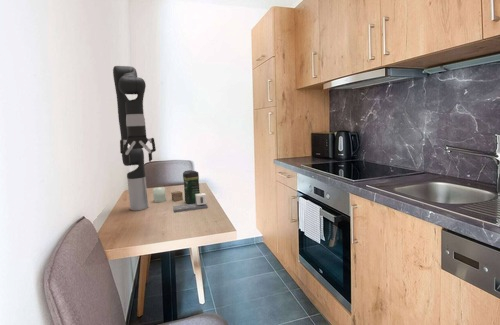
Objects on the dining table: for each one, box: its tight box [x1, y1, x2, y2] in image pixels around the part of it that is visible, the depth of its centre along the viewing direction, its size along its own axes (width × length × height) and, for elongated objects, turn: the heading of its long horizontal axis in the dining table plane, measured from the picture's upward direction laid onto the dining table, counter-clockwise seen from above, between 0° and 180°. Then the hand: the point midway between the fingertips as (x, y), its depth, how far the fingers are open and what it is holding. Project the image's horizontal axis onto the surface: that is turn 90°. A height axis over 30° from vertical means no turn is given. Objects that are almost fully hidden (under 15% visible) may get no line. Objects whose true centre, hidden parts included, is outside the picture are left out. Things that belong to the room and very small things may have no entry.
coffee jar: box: [182, 169, 200, 204], centre depth 164 cm, size 10×8×19 cm
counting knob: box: [195, 192, 208, 205], centre depth 152 cm, size 6×5×5 cm
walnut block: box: [171, 190, 184, 203], centre depth 171 cm, size 5×5×5 cm
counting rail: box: [172, 203, 208, 213], centre depth 151 cm, size 8×17×2 cm, turn 108°
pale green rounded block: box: [152, 186, 167, 204], centre depth 171 cm, size 7×7×8 cm
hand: (139, 162), depth 124 cm, fingers open, 8 cm apart
